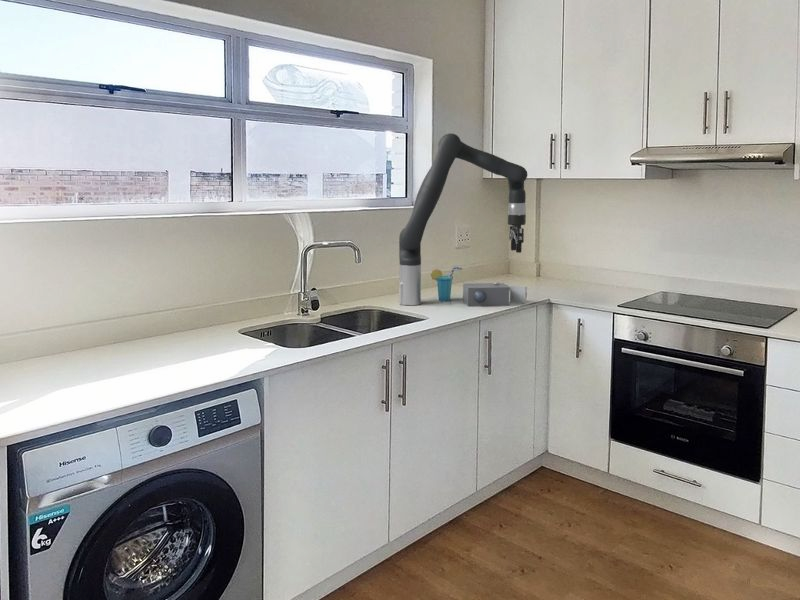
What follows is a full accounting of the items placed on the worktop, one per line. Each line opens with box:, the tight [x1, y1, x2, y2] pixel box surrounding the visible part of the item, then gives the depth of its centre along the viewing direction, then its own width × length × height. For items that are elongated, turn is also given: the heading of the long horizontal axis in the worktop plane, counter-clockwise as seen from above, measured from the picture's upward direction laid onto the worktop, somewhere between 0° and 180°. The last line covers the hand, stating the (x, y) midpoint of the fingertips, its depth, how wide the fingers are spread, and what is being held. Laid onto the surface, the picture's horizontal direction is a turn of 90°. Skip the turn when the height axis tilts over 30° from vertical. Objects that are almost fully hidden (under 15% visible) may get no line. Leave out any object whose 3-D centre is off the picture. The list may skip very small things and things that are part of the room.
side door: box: [505, 283, 528, 304], centre depth 302 cm, size 2×12×7 cm, turn 45°
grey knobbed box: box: [462, 281, 511, 307], centre depth 298 cm, size 18×14×9 cm
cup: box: [430, 266, 462, 302], centre depth 306 cm, size 14×8×15 cm, turn 104°
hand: (516, 251), depth 296 cm, fingers open, 8 cm apart
